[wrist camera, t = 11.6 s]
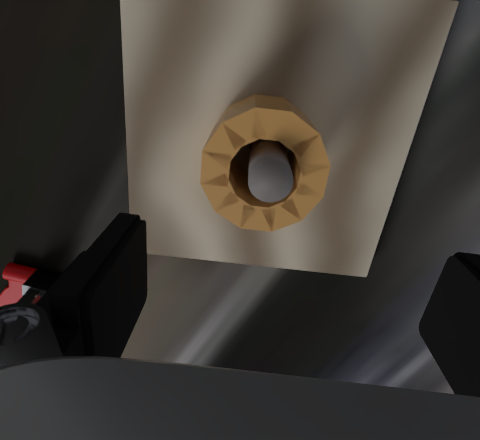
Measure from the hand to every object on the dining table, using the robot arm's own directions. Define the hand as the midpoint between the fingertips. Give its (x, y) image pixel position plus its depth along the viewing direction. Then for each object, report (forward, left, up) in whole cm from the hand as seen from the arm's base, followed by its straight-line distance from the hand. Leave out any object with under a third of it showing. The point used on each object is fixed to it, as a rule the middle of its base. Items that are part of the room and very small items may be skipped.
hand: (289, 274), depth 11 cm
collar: (+1, 0, -13) cm, 13 cm away
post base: (0, 0, -15) cm, 14 cm away
